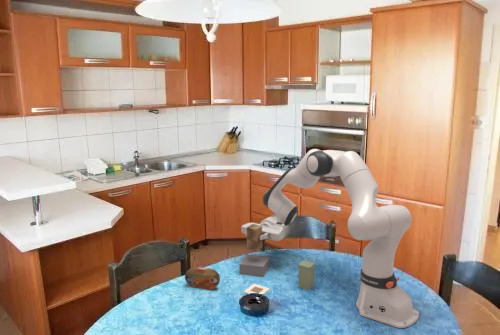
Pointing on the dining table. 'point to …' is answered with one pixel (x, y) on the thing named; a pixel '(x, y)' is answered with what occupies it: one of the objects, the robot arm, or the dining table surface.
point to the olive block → (306, 275)
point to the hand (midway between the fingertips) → (253, 236)
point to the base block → (254, 265)
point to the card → (256, 289)
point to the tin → (202, 278)
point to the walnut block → (254, 237)
